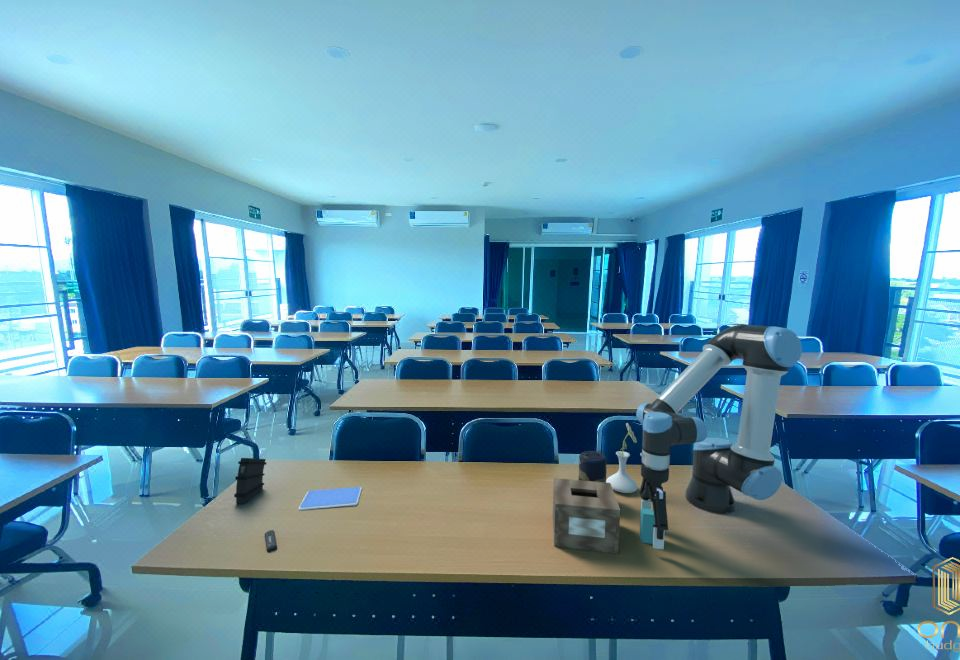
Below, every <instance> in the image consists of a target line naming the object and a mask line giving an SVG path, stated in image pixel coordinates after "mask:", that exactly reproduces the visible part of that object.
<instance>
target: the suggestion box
mask: <svg viewBox="0 0 960 660" xmlns="http://www.w3.org/2000/svg"><path fill="white" fill-rule="evenodd" d="M552 489H553V497H552V499H553V500H552V528H553V531H552V532H553V546H554V547H558V548H568V549H577V550H585V551H591V550H592V551H594V552H600V551H601V552H602V553H609V552H610V554H616V555H617V554H619V545H620V526H621V523H620V521H621V509H620V506H619V503H618V500H617V498H616V494H615V492H614V490H613V489H612V486H611V484H610V483H605V482H594V481H582V480H579V479H571V478H570V479H568V478H558V477H553V488H552Z"/></svg>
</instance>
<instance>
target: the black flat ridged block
mask: <svg viewBox="0 0 960 660" xmlns="http://www.w3.org/2000/svg"><path fill="white" fill-rule="evenodd" d="M237 464H238V465H239V466H238V469H237V470H238V471H237V476H235V481H236V487H235V489H236V490H235V493H234V494H233V495H234V496H233V497H234V498H236V499H235V503H236V505H245V504H246V503H247V502H249V501H250V500H251V499H253V498H254V497H255V496H256V495H257V494H258V493H260V492H261V491H262V490H263V487H264V485H265V482H264V481H263V477H264V476H265V473H264V469H265V465H267V462H266V458H253V457H241V458H240V461H239V460H238V462H237Z"/></svg>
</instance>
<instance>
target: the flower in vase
mask: <svg viewBox="0 0 960 660" xmlns="http://www.w3.org/2000/svg"><path fill="white" fill-rule="evenodd" d="M625 426H626V429H627V431H628V432H627V434H626V435H625V437H624V439H623V441H622V448H620V451H616V452H615V455H617V458H618V463H619V464H618V471H616V473H614V474H612V475H610V476H609V477H606V483H610V484H611V486H612V489H613V491H615V492H617V493H621V494H622V493H623V494H630V493H634V492H636V491H637V490H638V484H637V482H636V481H635V480H634V479H633V478H632V477H631V476H629V474H628V473H627V471H626V465H627V461H628V459H629V457H630V456H631V454H630V452H627V451H624V450H627V449H628V448H627V447H628V444H627V443H626V439H627V437H628V436H630V438H631V440H632V441H633V443H635V444H636V443H637V442H638V441H637V438H636V436H635V435H634V434H635V433H634V431H632V427H631V425H630V424H629V423H628V422H627V423H625ZM621 450H622V451H621Z"/></svg>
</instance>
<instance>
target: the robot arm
mask: <svg viewBox="0 0 960 660" xmlns="http://www.w3.org/2000/svg"><path fill="white" fill-rule="evenodd" d="M802 348H803V347H802V343H801V340H800V337H798V336H797V334H796V333H795V332H794V331H793V330H791V329H789V328H786V327H779V326H770V325H769V326H768V325H767V326H766V325H757V324H756V325H753V324H736V325H732V326H729V327H728V328H726V329H723V330H721V331H720V332H718V333H717V334H716V335H714V336H713V337H712V338H710V339H709V340H708V341H707V342H706V343H705V344H704V345H703V346H702V352H701V353H699V355H697V357H696V358H694V359H693V361H692V362H691V363H690V364H689V365H688V366H687V367H686V368H685V369H684V370H683V371H682V372H681V373H680V374H679V375H678V376H677V377H676V378H675V379H674V380H673V381H672V382H671V383H670V384H669V385H668V386H667V387H666V388H665V389H664V390H663V391H662V392H661V394H659V396H657V398H655V400H654V401H653V402H651V403H650V402H649V403H648V402H644V403H641V404H640V405H639V406H638V407H637V409H636V414H635V415H636V419H637V420H638V422H639V423H640V424H642V443H641V444H642V446H641V452H640V453H639V454H640V455H639V456H640V457H641V465H640V467H641V468H640V476H641V477H642V481H641V485H640V489H639V494H640V498H641V502H640V503H641V504H640V506H641V507H640V509H641V508H642V509H652V510H653V511H654V518H655V525H653V527H654V533H653V544H652V548H653V549H657V550H665V549H664V548H665V547H664V546H665V533H666V532H665V531H669V523H668V510H667V492H666V491H664V488H663V485H662V484H666V483H667V482H668V481H669V479H670V476H669V475H670V468H669V467H670V463H671V448H672V447H671V446H676V445H687V444H689V445H690V444H693V449H692V471H691V473H692V475H691V478H690V481H689V483H688V485H687V487H686V490H685V499H686V501H688V502H689V503H690V504H691V505H693V506H695V507H696V508H698V509H701V510H704V511H706V512H710V513H716V514H730V513H733V512H734V511H735V509H736V501H735V498H734V495H733V494H734V493H733V491H732V488H733V489H735V490H737V491H739V492H740V493H742V495H745V496H746V497H747V496H748V497H750V498H751V499H752V498H753V499H754V500H757V501H764V500H767V499H770V498H772V497H773V496H774V495H775V494H776V493H777V492H778V491H779V489H780V488H781V486H782V483H783V474H782V472H781V470H780V469H779V468H777V467H776V466H775V461H776V460H775V456H774V455H773V454H772V453H771V444H772V437H773V431H774V430H773V429H774V424H775V418H776V412H777V406H778V405H777V404H778V398H779V393H780V392H779V390H780V384H781V378H782V376H784V375H786V374H787V373H789V369H790V367H793V366H795V365H797V363H798V361H799V360H800V359H801V357H802V352H803V349H802ZM735 360H742V367H743V368H744V369H745V370H746V377H745V386H744V390H743V391H744V392H743V399H742V406H741V411H740V420H739V426H738V433H737V440H736V443H735V444H733V442H732V441H730V440H728V439H725V438H720V437H708V427H707V425H706V423H705V421H704V420H702V419H701V418H700V417H698V416H697V417H696V416H695V417H694V416H688V417H687V416H686V417H685V416H682V415H679V414H678V413H679V412H680V410H681V409H683V408H684V406H685V405H687V404H688V403H689V401H691V399H692V398H693V397H694V396H695V395H696V394H697V393H698V392H699V391H700V390H701V389H702V388H703V387H704V386H705V385H706V384H707V383H708V382H709V381H710V380H711V379H712V378H713V377H714V376H715V374H716V373H718V372H719V370H720V369H721V368H722V367H723V366H724V367H725V366H726V367H727V366H729V365H730V364H731V363H732V362H733V361H735Z"/></svg>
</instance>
